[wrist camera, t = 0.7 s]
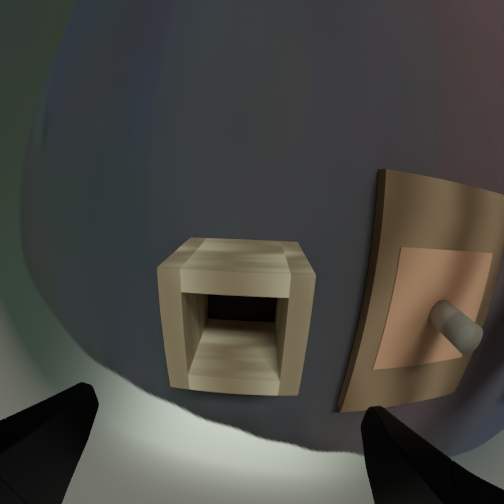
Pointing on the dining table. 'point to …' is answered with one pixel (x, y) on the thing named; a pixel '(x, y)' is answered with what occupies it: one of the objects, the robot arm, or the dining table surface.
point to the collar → (233, 331)
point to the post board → (423, 290)
